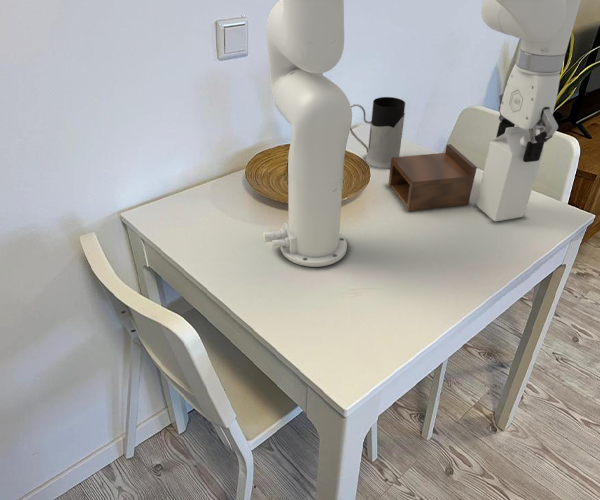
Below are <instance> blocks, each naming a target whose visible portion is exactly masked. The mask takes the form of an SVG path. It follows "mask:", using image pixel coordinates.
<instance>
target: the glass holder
mask: <svg viewBox="0 0 600 500" xmlns="http://www.w3.org/2000/svg"><path fill="white" fill-rule="evenodd" d="M372 101H373V102H372V110H371V111H372V112H371V120H370V121H368V120H367V119H366V110H365V108H364V107H363V106H362V105H361V104H359V103H354V104H352V105H351V108H354V107H358V108H360V109H361V111H362V112H363V122H364V123H366V124H369V125H370V126H369V135H368V136H369V137H368V146H367V145H366V144H365V142H363V141H362V140H361V139H360V138H359V137H358V136H357V135H356V133H355V132H354V131H353V129H352V127H351V128H350V133H351V135H352V136H353V137H354V138H355V140H357V142H358V143H360V144H361V145H362V146H363V147H364V148H365V150H366V154H367V155H366V157H365V162H366V164H367V165H369V166H371V167H373V168H378V169H390V166H391V158H393V157H400V154H401V146H402V139H403V131H404V130H403V129H404V122H405V116H406V115H405V114H406V112H405V110H406V109H405V108H406V102H405V101H404V100H403V99H401V98H397V97H392V96H382V97H377V98H375V99H373V100H372Z"/></svg>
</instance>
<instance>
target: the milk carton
mask: <svg viewBox="0 0 600 500" xmlns="http://www.w3.org/2000/svg"><path fill="white" fill-rule="evenodd" d="M538 134H539V133H538V130H536V135H538ZM528 141H531V140H530V135H529V130H523V129H521V128H520V127H518V126H514V127H509V128H506V130H505V133H504V134H502V135H501V136H499V137H497V138H496V137H495V138H493V139H492V140H490V143H489V148H488V151H487V155H486V159H485V164H484V168H483V172H482V176H481V180H480V185H479V188H478V194H477V197H476V202H475V206H476V207H477V208H478V209H479V210H481V211H482V212H483V213H484V214H485V215H486V216H488V218H490V219H491V220H492V221H494V222H501V221H507V220H512V219H519V218H524V216H525V213H526V210H527V207H528V203H529V200H530V196H531V193H532V190H533V188H534V187H533V186H534V183H535V181H536V177H537V174H538V171H539V167H540V164H541V161H542V157H543V154H544V148H543V149H542V152H541V156H540V159H539V160H538V161H533V162H524V161H523V157H524V153H525V149H526V146H527V143H528Z"/></svg>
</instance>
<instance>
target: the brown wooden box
mask: <svg viewBox="0 0 600 500" xmlns="http://www.w3.org/2000/svg"><path fill="white" fill-rule="evenodd" d="M477 169H478V167H477V166H476V165H475V164H474V163H473V162H472V161H471V160H469V159H468V158H467V157H466V155H464V154H463V153H461V151H459V150H458V149H457V148H456V147H455V146H453V145H452V144H451V143H449V144H448V143H447V144H446V146H445V152H439V153H427V154H426V153H425V154H416V155H405V156H404V155H403V156H399V157H393V158H391V166H390V168H389V174H388V175H389V176H388V184H387V186H388V187H389V188H390V189H391V190H392V191H393V193H394V194H395V195H396V197H398V199H399V200H400V202H402V204H403V205H404V207H405V209H406V211H407V212H415V211H424V210H433V209H440V208H451V207H459V206H467V205H469V203H470V198H471V195H472V190H473V186H474V181H475V178H476V173H477Z"/></svg>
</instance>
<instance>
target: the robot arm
mask: <svg viewBox="0 0 600 500" xmlns="http://www.w3.org/2000/svg"><path fill="white" fill-rule="evenodd" d="M581 2H582V0H482V3H481V8H480V14H481V19H482V20H483V22H484V24H485V25H486V26H487V27H488V28H489V29H491V30H493V31H496V32H498V33H500V34H504V35H507V36H511V37H514V38H517V39H520V40H521V44H520V46H519V47H520V48H519V52H518V56H517V60H516V63H515V64H514V66H513V67H512V69H511V72H510V74H509V77H508V79H507V83H506V85H505V89H504V92H503V93H502V94H500V95H499V96H498V98H499V107H498V112H499V116H498V121H499V124H498V127H497V132H496V137H495V138H497V137H499V136H501V135H502V134H504V133H505V130H506V128H509V127H520V128H521V129H523V130H529V135H530V140H531V141H528V143H527V146H526V149H525V153H524V157H523V161H524V162H533V161H538V160H539V159H540V156H541V152H542V149H543V150H544V145H545V143H547V142H548V140H550V139H551V138H553V135H554V134H555V133H556V132H557V131H558V129H559V124H558V122H557V121H556V119H555V117H554V110H555V107H556V103H557V100H558V99H557V98H558V93H559V87H560V80H561V74H560V73H561V71H562V67H563V64H564V60H565V58H566V53H567V50H568V47H569V43H570V40H571V36H572V32H573V30H574V26H575V23H576V19H577V15H578V13H579V9H580V5H581ZM265 29H266V30H265V37H266V38H265V41H266V52H267V62H268V71H269V83H270V93H271V97H272V100H273V103H274V106H275V108H276V110H277V111H278V112H279V114H280V115H281V116H282V117H283V118H284V119H285V120H286V122H287V123H288V124H289V126H290V127H291V140H290V145H289V150H288V158H287V175H288V176H287V181H288V183H287V184H288V185H287V187H288V189H287V190H288V192H287V194H288V195H287V197H288V198H287V199H288V205H287V207H288V208H287V210H288V217H287V218H288V221H287V222H284V227H283V228H280V229H279V230H275V231H274V230H271V231H270V230H269V231H263V232H262V238H263V242H264V243H271V245H272V248H274V249H275V248H280V251H281V254H282V255H283V257H285V258H286V259H287V260H288V261H290V262H292V263H293V264H297V265H300V266H305V267H310V268H311V267H312V268H315V267H316V268H317V267H319V268H320V267H326V266H330V265H332V264H335V263H337V262H339V261H340V260H342V259H343V258H344V257H345V255H346V254H347V251H348V250H347V249H348V242H347V239H346V238H345V236H344V235H343V234H342V233H340V232H341V217H342V216H341V215H342V203H343V202H342V199H343V183H344V167H345V157H346V148H347V143H348V139H349V135H350V133H351V131H350V128H351V129H352V121H353V110H352V107H351V106H352V105H351V102H350V100H349V99H348V96H347V95H346V93H345V92H344V91H343V90H342V88H340V87H339V86H338V85H337V84H336V83H334V82H333V81H332V80H331V79H329V78H328V77H326V76H325V75H324V73H327V72H329V71H331V70H333V69H334V68H335V67H336V66H337V64H339V62H340V60H341V58H342V55H343V53H344V48H345V0H278V1H277V2H275V4H274V5H273V7H272V8H271V10H270V12H269V15H268V18H267V21H266V28H265ZM536 130H537V131H538V130H539V133H538V135H536Z"/></svg>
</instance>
